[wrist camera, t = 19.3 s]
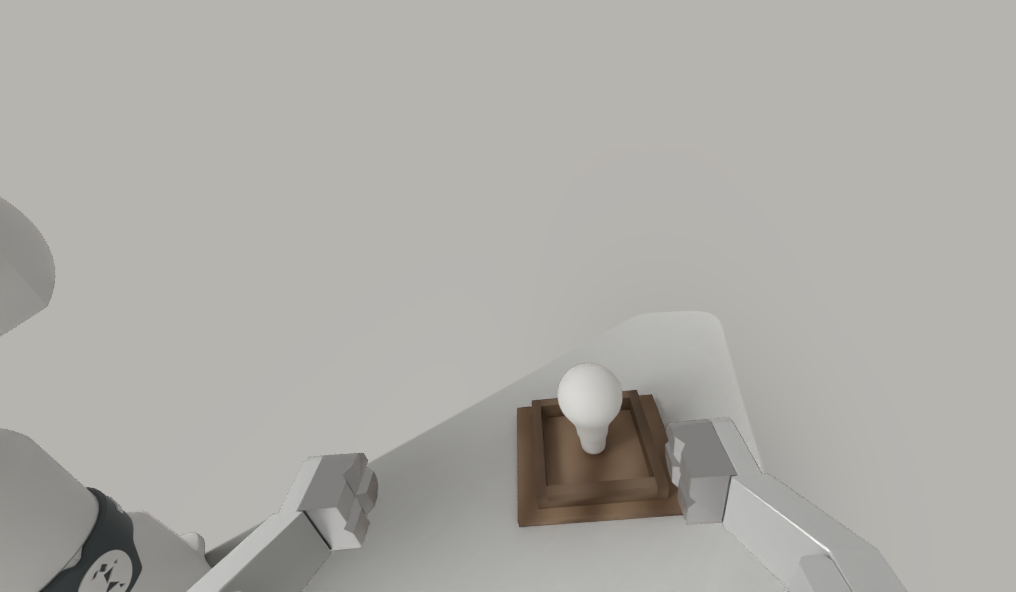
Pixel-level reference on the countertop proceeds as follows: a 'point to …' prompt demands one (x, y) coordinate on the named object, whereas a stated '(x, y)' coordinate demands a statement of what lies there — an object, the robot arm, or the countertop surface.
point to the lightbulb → (590, 403)
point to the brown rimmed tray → (593, 466)
